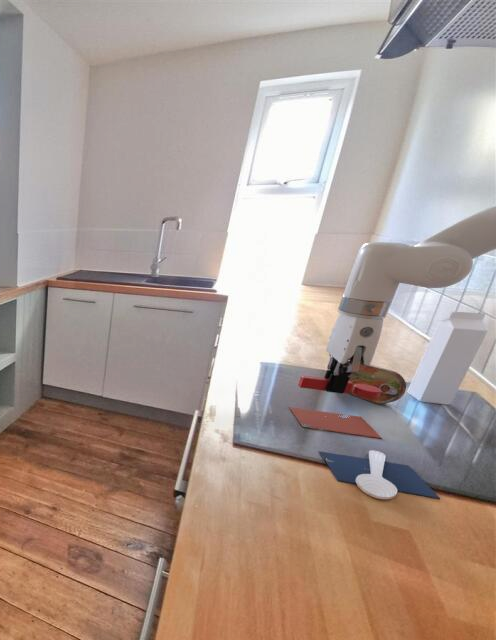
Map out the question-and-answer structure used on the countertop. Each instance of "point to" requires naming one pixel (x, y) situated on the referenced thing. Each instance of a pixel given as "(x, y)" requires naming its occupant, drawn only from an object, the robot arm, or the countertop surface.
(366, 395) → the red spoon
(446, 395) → the milk
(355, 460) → the blue mat
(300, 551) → the countertop surface
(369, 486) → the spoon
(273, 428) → the countertop surface
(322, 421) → the terracotta mat
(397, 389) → the tin
